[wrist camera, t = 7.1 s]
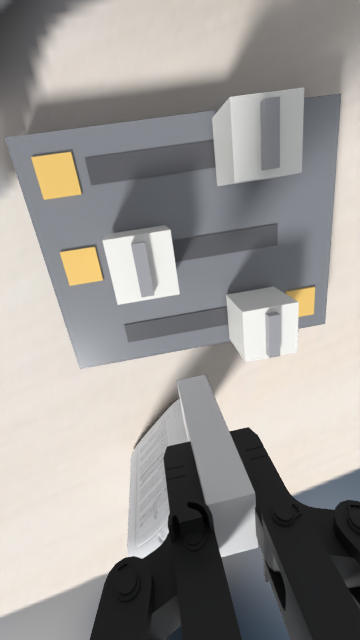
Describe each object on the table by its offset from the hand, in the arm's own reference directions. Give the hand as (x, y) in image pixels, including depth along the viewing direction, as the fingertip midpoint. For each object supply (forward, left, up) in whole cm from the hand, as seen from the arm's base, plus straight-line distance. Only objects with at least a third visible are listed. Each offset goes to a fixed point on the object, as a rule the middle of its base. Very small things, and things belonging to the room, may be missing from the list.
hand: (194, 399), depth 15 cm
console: (+3, +6, -13) cm, 14 cm away
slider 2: (+7, 0, -9) cm, 11 cm away
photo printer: (-2, -14, -13) cm, 19 cm away
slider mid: (-1, +6, -9) cm, 11 cm away
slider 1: (+7, +12, -9) cm, 17 cm away
